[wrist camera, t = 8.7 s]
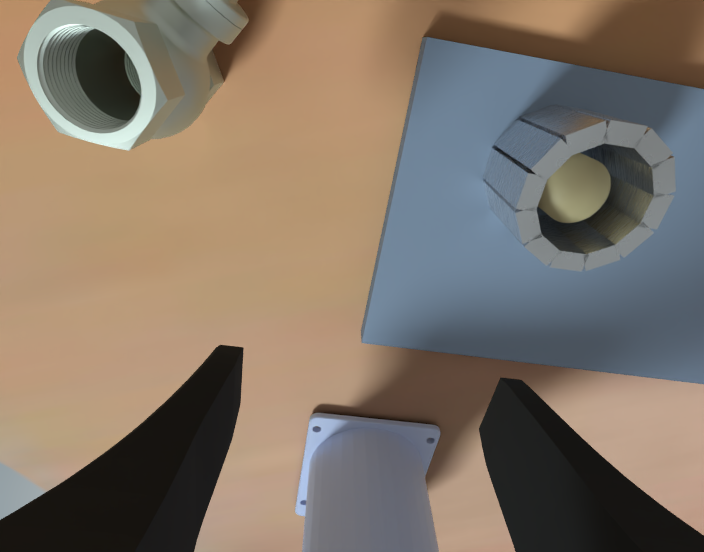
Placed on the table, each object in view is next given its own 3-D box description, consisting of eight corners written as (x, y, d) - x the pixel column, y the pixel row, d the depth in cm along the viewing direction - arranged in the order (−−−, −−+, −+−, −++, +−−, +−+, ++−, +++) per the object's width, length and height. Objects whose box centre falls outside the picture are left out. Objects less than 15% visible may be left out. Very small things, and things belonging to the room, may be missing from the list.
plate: (763, 380, 25) (830, 435, 22) (360, 331, 23) (364, 382, 20) (957, 138, 19) (1098, 159, 15) (422, 37, 17) (443, 35, 13)
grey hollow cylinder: (579, 236, 20) (631, 278, 16) (469, 220, 19) (498, 260, 16) (631, 117, 17) (705, 135, 14) (506, 96, 17) (550, 110, 13)
